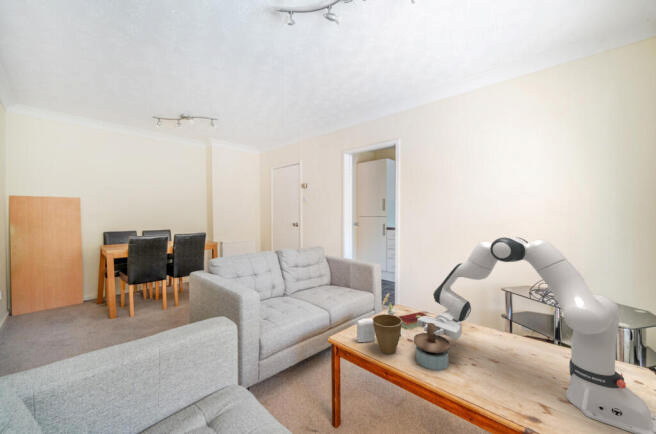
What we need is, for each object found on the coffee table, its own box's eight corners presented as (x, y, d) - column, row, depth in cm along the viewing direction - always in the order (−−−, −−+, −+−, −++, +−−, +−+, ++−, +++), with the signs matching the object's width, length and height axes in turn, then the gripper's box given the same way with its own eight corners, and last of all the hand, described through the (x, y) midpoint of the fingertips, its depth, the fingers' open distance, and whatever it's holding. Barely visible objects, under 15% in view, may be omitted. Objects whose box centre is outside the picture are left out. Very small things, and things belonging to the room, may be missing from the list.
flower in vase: (386, 327, 156) (385, 287, 155) (404, 332, 149) (403, 290, 149) (377, 336, 145) (376, 293, 145) (396, 342, 139) (395, 297, 138)
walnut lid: (453, 342, 121) (453, 323, 121) (444, 356, 109) (443, 336, 109) (420, 332, 132) (420, 314, 132) (408, 344, 120) (408, 325, 119)
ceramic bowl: (453, 361, 119) (453, 349, 119) (439, 374, 111) (438, 360, 110) (425, 349, 130) (425, 338, 130) (410, 360, 121) (410, 348, 121)
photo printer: (373, 337, 144) (372, 316, 144) (376, 341, 140) (375, 319, 140) (356, 340, 142) (355, 318, 142) (358, 343, 138) (358, 321, 137)
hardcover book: (394, 322, 164) (394, 316, 164) (420, 317, 171) (420, 311, 171) (406, 330, 152) (406, 323, 152) (433, 324, 160) (433, 318, 160)
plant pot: (386, 340, 141) (385, 311, 141) (408, 351, 129) (407, 320, 129) (367, 348, 132) (366, 318, 132) (389, 362, 120) (388, 329, 120)
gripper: (425, 311, 136) (410, 318, 128) (464, 323, 121) (451, 332, 112) (425, 322, 137) (411, 330, 128) (464, 336, 121) (451, 346, 112)
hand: (430, 331), depth 120 cm, fingers closed on walnut lid, 4 cm apart
